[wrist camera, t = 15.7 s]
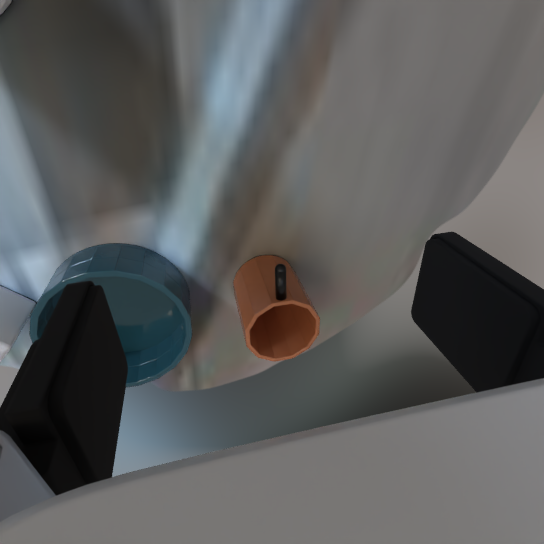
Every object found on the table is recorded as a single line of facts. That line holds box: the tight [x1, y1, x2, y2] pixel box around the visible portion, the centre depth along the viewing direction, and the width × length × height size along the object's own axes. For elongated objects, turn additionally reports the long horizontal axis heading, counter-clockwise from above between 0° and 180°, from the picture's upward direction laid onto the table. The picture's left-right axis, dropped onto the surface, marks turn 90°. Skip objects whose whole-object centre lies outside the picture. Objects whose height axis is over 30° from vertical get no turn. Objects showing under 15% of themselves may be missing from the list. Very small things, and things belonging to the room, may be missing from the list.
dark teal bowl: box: [29, 243, 192, 387], centre depth 37 cm, size 14×14×6 cm
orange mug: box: [233, 255, 320, 361], centre depth 37 cm, size 11×7×9 cm
